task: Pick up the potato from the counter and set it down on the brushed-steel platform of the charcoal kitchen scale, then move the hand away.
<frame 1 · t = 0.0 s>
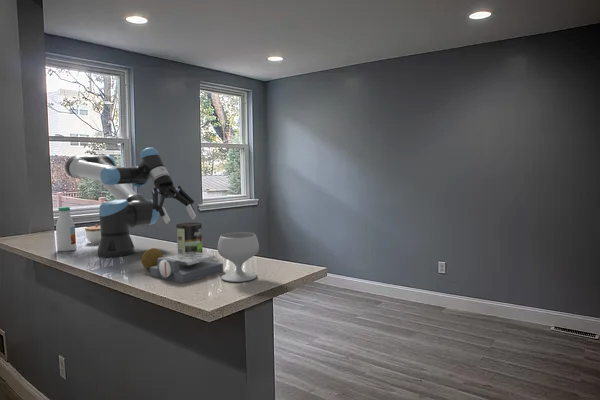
hand: (181, 220, 183), 15 cm above the counter, tool tilted 35°, fingers open, 13 cm apart
milk bottle: (67, 250, 200), on the counter
scale base: (187, 273, 154), on the counter
lidded jar: (97, 242, 218), on the counter
platform: (189, 257, 155), point 5 cm above the counter, slide at -0.4 cm
coffee can: (190, 257, 181), on the counter
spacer: (205, 263, 169), on the counter
potato: (152, 269, 162), on the counter
chalice: (239, 278, 148), on the counter
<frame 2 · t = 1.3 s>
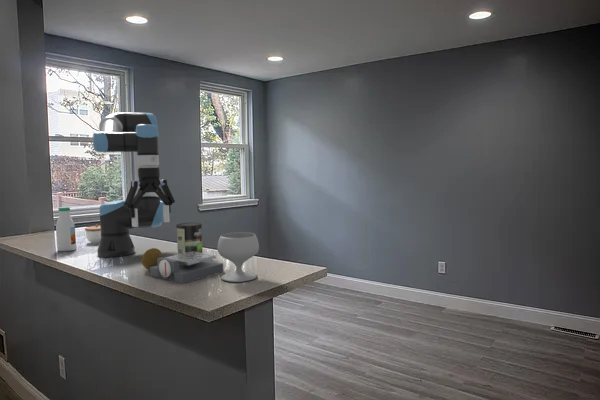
hand: (151, 224, 160), 17 cm above the counter, tool pointing down, fingers open, 13 cm apart
nothing on the counter moved.
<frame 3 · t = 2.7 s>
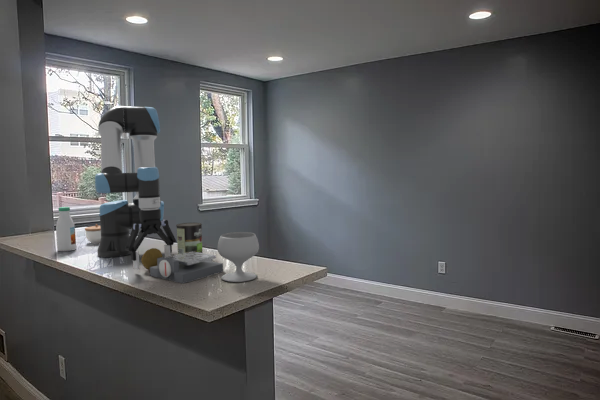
hand: (152, 265, 161), 2 cm above the counter, tool pointing down, fingers open, 13 cm apart
nothing on the counter moved.
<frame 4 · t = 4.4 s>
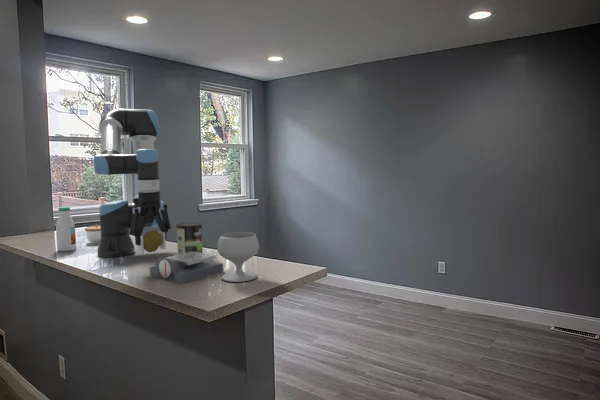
hand: (151, 251, 162), 7 cm above the counter, tool pointing down, fingers closed on potato, 9 cm apart
potato: (152, 252, 162), point 6 cm above the counter, touching gripper
everything else where it was.
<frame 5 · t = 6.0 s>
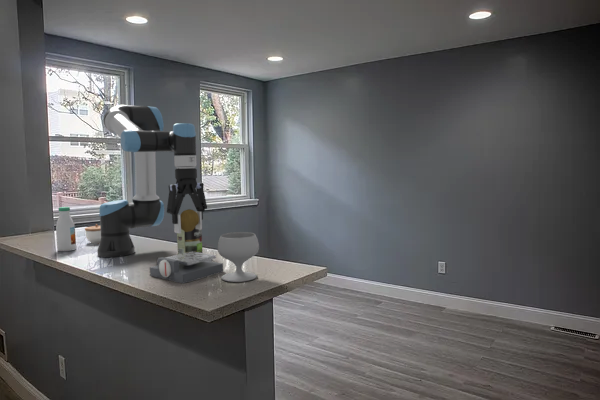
hand: (188, 231, 154), 15 cm above the counter, tool pointing down, fingers closed on potato, 9 cm apart
potato: (189, 232, 155), point 15 cm above the counter, touching gripper
everything else where it was.
when the fingers open (7 cm above the counter, at t = 7.8 s): potato drops 2 cm, resting on platform.
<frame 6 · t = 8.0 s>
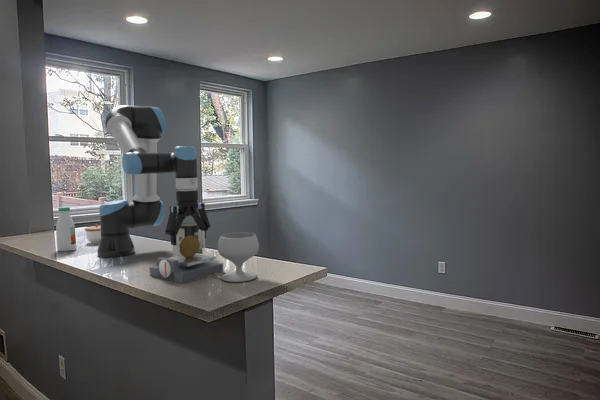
hand: (189, 250, 155), 8 cm above the counter, tool pointing down, fingers open, 11 cm apart
platform: (189, 258, 155), point 5 cm above the counter, slide at -0.8 cm, touching potato
potato: (189, 258, 155), point 5 cm above the counter, touching platform
everything else where it was.
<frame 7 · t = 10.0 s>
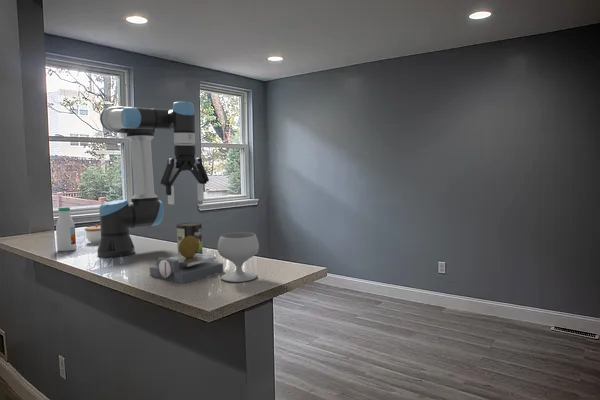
hand: (186, 202, 161), 25 cm above the counter, tool pointing down, fingers open, 13 cm apart
nothing on the counter moved.
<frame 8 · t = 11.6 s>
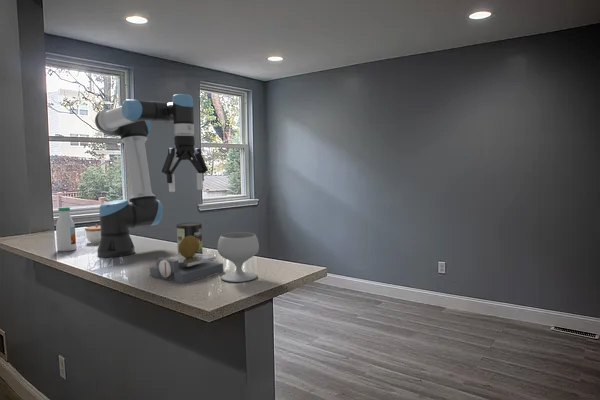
hand: (186, 190, 168), 29 cm above the counter, tool pointing down, fingers open, 13 cm apart
nothing on the counter moved.
at the end: potato inside the target area on the platform (0.1 cm from its centre), point 6.1 cm above the platform's base; the gripper is holding nothing; potato touching platform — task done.
